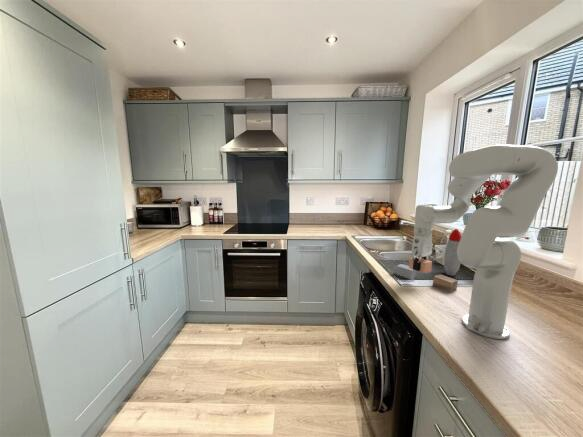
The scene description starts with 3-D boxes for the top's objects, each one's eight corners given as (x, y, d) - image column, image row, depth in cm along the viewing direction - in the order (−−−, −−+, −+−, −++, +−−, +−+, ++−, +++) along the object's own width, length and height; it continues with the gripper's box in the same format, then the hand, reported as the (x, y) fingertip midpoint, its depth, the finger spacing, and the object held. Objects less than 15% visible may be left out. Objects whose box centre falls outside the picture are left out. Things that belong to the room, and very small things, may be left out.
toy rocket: (463, 277, 122) (470, 230, 118) (447, 276, 123) (453, 230, 119) (454, 271, 130) (460, 227, 126) (439, 271, 130) (444, 227, 126)
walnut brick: (450, 293, 105) (451, 282, 105) (432, 286, 112) (433, 276, 111) (456, 290, 108) (457, 280, 107) (438, 283, 115) (439, 274, 114)
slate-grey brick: (410, 279, 119) (411, 270, 118) (395, 274, 125) (396, 265, 124) (415, 277, 122) (416, 268, 121) (400, 272, 128) (401, 263, 128)
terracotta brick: (424, 273, 107) (425, 262, 106) (408, 268, 114) (409, 258, 113) (431, 271, 109) (432, 261, 109) (415, 266, 116) (416, 256, 116)
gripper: (421, 235, 101) (417, 275, 104) (440, 231, 111) (437, 267, 113) (404, 232, 108) (402, 270, 110) (424, 228, 117) (421, 263, 119)
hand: (419, 268), depth 112 cm, fingers closed on terracotta brick, 5 cm apart
